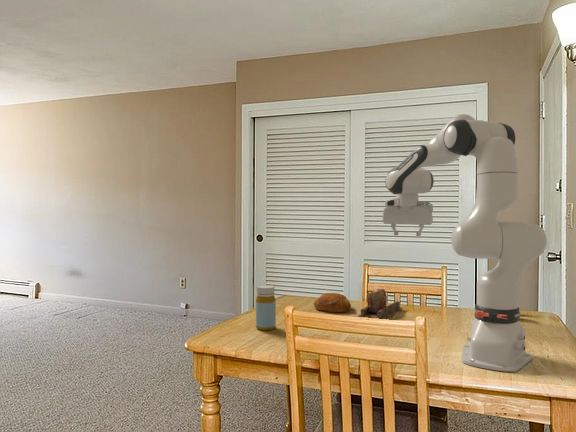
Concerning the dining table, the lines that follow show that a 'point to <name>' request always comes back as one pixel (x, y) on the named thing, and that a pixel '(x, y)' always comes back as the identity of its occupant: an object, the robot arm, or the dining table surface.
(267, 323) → the bottle
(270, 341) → the dining table surface
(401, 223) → the robot arm
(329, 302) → the round bread loaf
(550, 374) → the dining table surface
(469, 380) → the dining table surface
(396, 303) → the rack
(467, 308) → the dining table surface
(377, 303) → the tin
